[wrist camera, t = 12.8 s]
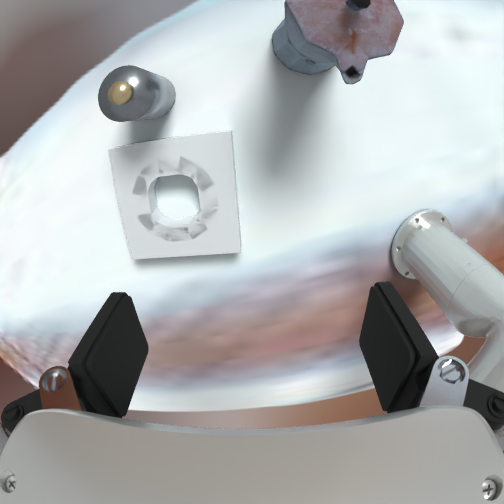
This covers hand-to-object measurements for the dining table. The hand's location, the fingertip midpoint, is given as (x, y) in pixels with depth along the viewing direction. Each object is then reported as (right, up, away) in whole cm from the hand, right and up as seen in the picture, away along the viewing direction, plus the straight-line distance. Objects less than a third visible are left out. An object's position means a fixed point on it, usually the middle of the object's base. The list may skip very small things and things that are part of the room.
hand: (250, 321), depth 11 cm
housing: (-10, +10, +27) cm, 31 cm away
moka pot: (+7, +29, +18) cm, 35 cm away
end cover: (-13, +23, +21) cm, 34 cm away
